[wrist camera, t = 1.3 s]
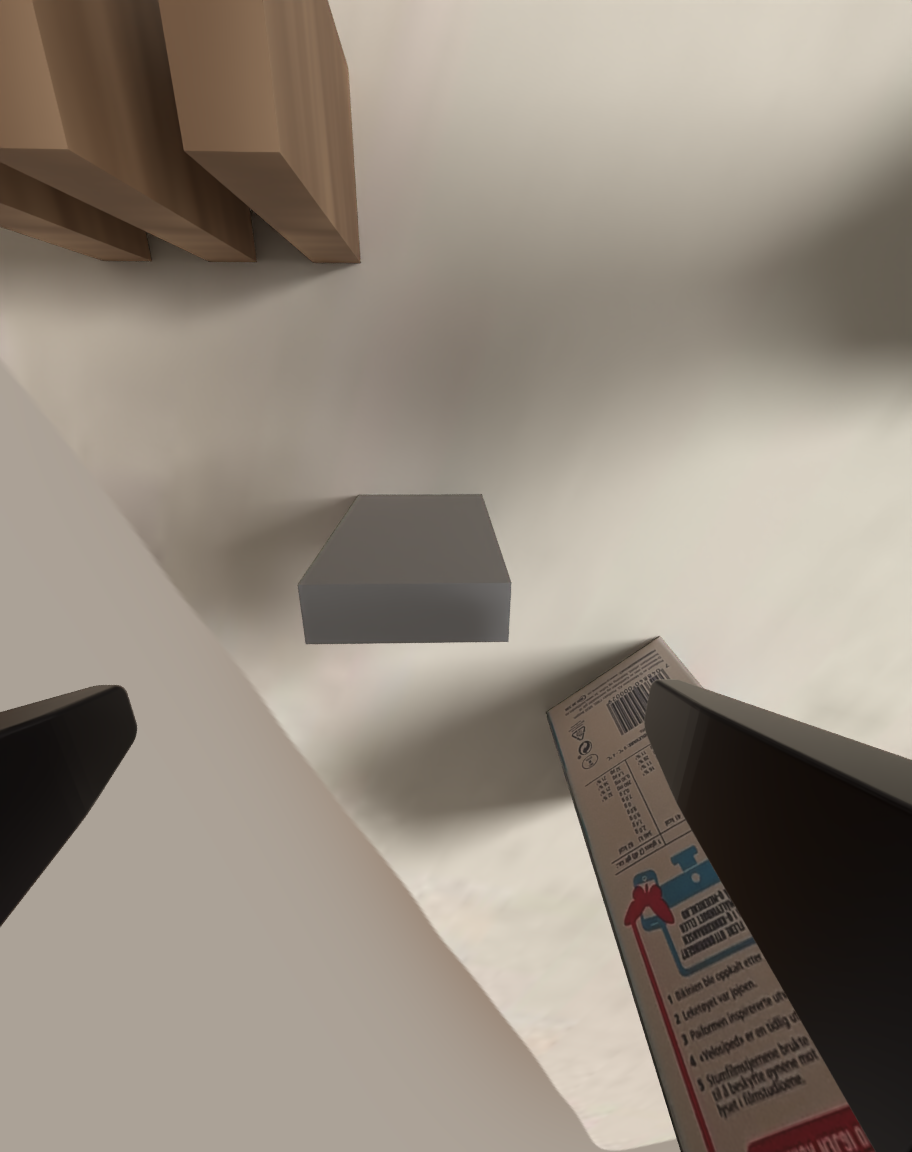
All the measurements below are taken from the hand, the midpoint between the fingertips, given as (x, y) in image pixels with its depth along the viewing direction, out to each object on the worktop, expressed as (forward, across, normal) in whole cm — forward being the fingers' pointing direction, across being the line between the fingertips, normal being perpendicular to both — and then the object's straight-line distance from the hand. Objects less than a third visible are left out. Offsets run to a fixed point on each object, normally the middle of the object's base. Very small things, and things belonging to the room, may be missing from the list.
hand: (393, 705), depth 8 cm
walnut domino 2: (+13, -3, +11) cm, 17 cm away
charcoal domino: (+13, 0, 0) cm, 13 cm away
